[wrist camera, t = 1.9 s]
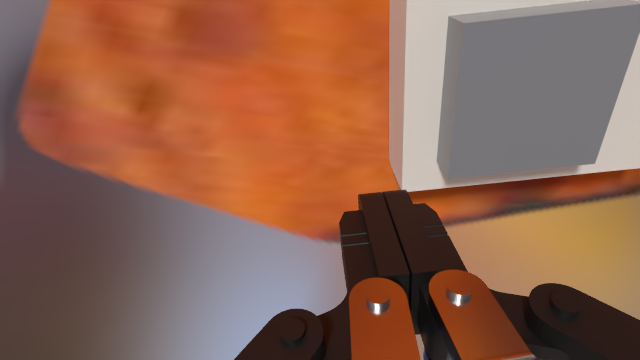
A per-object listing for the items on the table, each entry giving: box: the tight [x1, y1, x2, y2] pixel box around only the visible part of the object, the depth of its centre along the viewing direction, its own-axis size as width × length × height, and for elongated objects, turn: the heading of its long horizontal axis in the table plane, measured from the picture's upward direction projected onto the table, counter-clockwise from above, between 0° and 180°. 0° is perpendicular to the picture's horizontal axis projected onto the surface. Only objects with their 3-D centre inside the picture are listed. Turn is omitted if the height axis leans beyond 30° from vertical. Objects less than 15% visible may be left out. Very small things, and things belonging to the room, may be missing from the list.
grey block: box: [437, 0, 640, 179], centre depth 19 cm, size 8×8×2 cm
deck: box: [389, 0, 640, 192], centre depth 22 cm, size 16×12×4 cm
